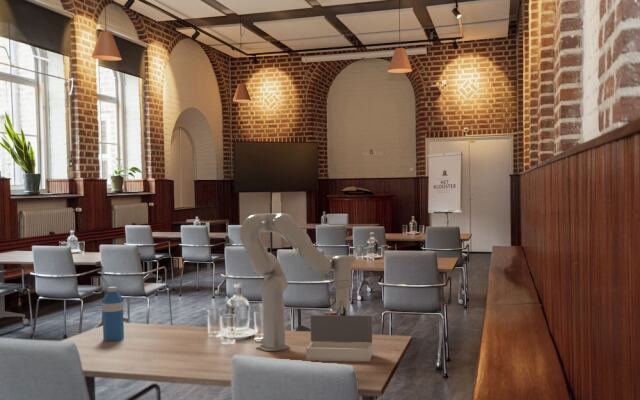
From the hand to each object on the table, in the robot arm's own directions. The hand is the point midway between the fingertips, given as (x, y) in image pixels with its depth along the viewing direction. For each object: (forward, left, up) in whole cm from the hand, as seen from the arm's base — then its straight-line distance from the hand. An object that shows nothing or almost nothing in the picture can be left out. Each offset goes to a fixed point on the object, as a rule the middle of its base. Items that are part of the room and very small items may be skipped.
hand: (343, 325), depth 273 cm
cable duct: (0, -14, -10) cm, 17 cm away
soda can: (-9, +21, -10) cm, 25 cm away
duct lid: (0, -8, 0) cm, 8 cm away
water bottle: (-113, +9, -10) cm, 114 cm away
